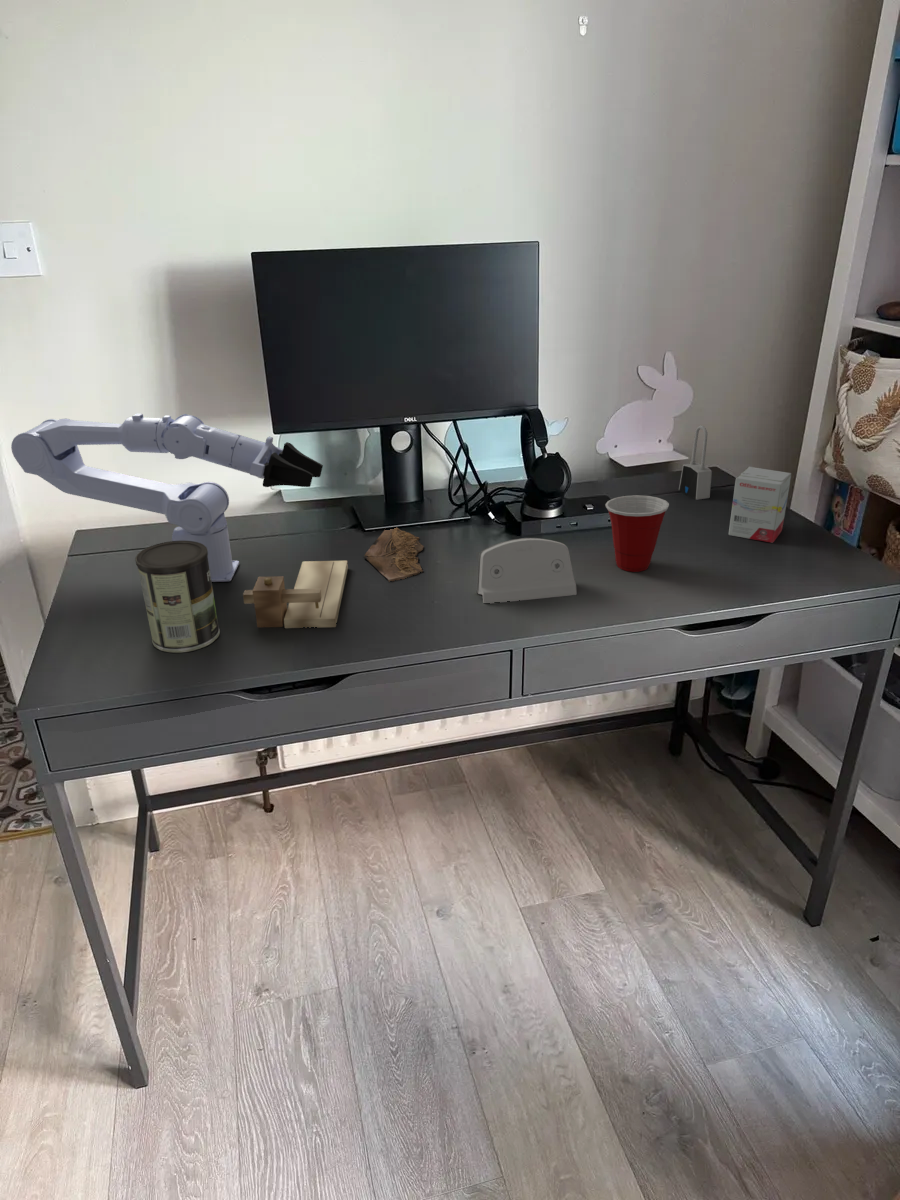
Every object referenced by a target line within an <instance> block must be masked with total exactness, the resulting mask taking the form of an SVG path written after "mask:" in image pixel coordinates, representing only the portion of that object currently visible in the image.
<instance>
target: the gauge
mask: <svg viewBox="0 0 900 1200" xmlns="http://www.w3.org/2000/svg"><path fill="white" fill-rule="evenodd" d="M285 586H286V585H285V577H284V576H283V575H282V576H281V575H280V576H279V575H277V576H258V577H257V580H256V581H255V584H254V586H253V588H252V589H245V590H244V591H243V592H242V597H243V604H245V605H247V604H249V605H250V604H254V612H255V618H256V626H257V628H283V627H284V626H285V625H284V618H285V615H286V612H287V609H288V605H287V604H289V603H305V602H315V606H316V608H319V604H318V602H321V598H322V597H321V589H294V588H285Z"/></svg>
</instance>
